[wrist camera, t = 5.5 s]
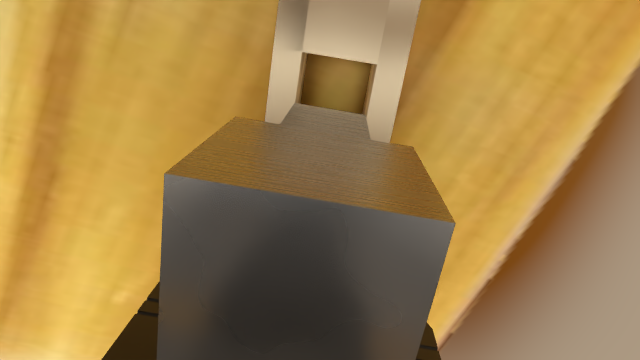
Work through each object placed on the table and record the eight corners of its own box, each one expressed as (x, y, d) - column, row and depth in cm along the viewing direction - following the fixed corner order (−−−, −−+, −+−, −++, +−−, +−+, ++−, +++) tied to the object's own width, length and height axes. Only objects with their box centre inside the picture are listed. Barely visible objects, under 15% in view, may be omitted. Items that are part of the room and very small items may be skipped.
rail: (297, -71, 21) (289, -88, 18) (421, -50, 21) (434, -64, 18) (254, 282, 28) (242, 316, 24) (347, 298, 28) (347, 334, 24)
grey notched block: (279, 81, 12) (164, 173, 4) (387, 100, 12) (455, 223, 4) (246, 345, 15) (143, 666, 7) (332, 359, 15) (317, 696, 7)
